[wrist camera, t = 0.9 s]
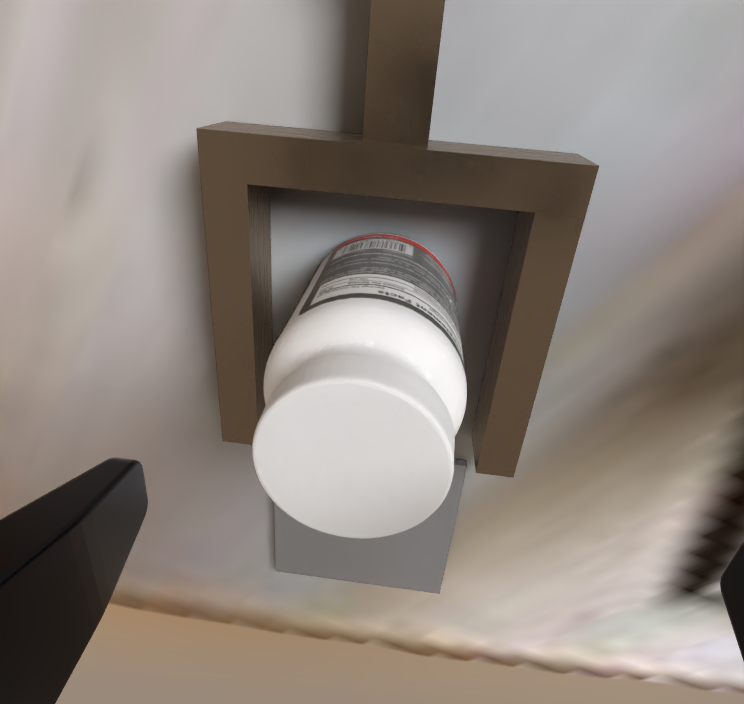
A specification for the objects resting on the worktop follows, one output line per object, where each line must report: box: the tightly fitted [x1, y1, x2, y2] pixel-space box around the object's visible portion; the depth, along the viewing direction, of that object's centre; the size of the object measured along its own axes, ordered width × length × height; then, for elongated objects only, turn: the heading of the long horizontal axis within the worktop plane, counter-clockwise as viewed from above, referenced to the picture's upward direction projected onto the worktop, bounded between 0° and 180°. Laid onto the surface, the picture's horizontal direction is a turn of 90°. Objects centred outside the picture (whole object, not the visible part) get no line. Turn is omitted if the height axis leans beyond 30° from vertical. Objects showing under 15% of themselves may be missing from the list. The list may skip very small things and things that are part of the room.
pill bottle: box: [252, 233, 467, 539], centre depth 16 cm, size 6×6×10 cm
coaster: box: [274, 459, 467, 594], centre depth 26 cm, size 9×9×1 cm
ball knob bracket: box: [197, 0, 599, 477], centre depth 17 cm, size 12×20×2 cm, turn 176°
